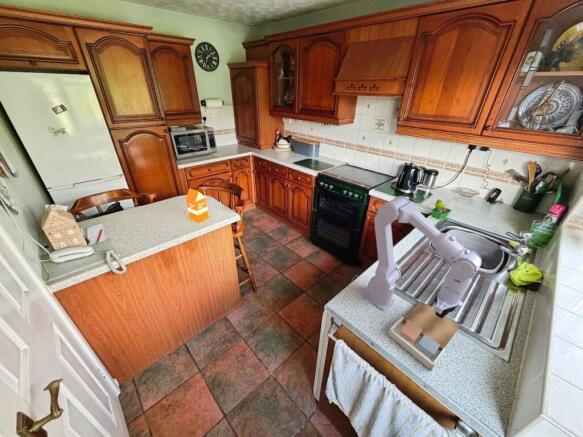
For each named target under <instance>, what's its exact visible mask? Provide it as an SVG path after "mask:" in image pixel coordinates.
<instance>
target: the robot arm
mask: <svg viewBox="0 0 583 437" xmlns="http://www.w3.org/2000/svg"><path fill="white" fill-rule="evenodd" d="M418 209H419V208H417V207H416V204H415V203H414V202H412V201H410V200H409V198H408V197H406V196H404V195H399V196H395V198H393V199H391V200H390V201H387V202H385V203H383V204H382V205H381V206H380V207H378V208H377V213H376V216H375V217H374V230H375V240H376V248H377V249H376V250H377V258H378V264H377V267H376V269H375V272H374V273H375V275H374V276H372V277H371V278H370V280H369V281H368V283H367V285H366V289H365V293H364V294H363V296H364V298H366V299H367V300H368V301H370V303H372V304H374V305H375V306H376V307H377V308H379V309H380V310H382V311H386V310H387V309H388V308H389V307H390V306H392V304H393V303H394V302H395V299H393V296H394V292H395V289H396V282H397V281H398V280H399V279H401V276H402V274H401V271H400V269H399V266H398V263H396V262H395V257H394V256H395V255H394V247H393V246H394V244H393V243H394V242H393V231H392V223H393V222H395V221H396V220H398V221H397V223H400V224H402V223H403V224H410V225H412V226H413V227H414V228H415V229H417V230H418V231H419V232H420V233H422V234H423V235H424V236H425V237H426V238H428V239H429V240H431V247H433V249H434V250H436V251H437V252H438V253H439V254H440V255H441V256H442V257H443V258H444V259H445V260H446V261H448V262H449V263H450V265H451V269H450V270H449V272H448V273H447V276H446V277H445V280H444V282H443V284H442V286H441V287H440V290H438V293H437V296H436V297H435V299H434V304H435V306H434V308H433V309H434V310H435V311H436V315H437V316H438V317H440V318H441V319H442V318H443V317H444V316H445V317H446V315H448V314H449V313H452V312H454V311H455V310H456V309H457V307H459V308H463V307H464V305H465V302H463V301H461V299H462V300H463V298H462V297H463V296H464V295H465V293H466V291H467V290H468V288H469V287H470V285H471V283H472V281H473V278H475V276H476V275H477V274H476V273H477V272H478V270H479V269H480V268H481V266H482V263H483V262H482V257H481V256H480V254H478V253H477V252H476V251H474V250H471V249H470V250H469V249H467V248H466V247H464V246H463V245H462V244H460V243H459V242H458V241H457V238H456V237H455V236H454V235H450V234H449V233H447V232H441V231H440V230H439V229H437V227H436V226H434V224H433V223H432V222H431V221H430V220H428V219H427V218H426V217H425V215H424V214H422V212H420V211H419V210H418ZM468 286H469V287H468Z"/></svg>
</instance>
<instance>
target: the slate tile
mask: <svg viewBox="0 0 583 437" xmlns="http://www.w3.org/2000/svg"><path fill="white" fill-rule="evenodd" d="M439 347H440V344H438V343H437V342H435V341H434V340H432V339H431V338H430V337H428V336H427V335H424V336H423V337H422V339H421V340H420V342H419V343H418V345H417V347H416V348H418V349H419V350H420V351H422V352H423V353H424V354H426V355H427V356H428V357H430V358H431V359H432V358H433V357H434V355H435V353H436V352H437V350H438V348H439Z"/></svg>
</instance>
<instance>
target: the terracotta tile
mask: <svg viewBox="0 0 583 437" xmlns="http://www.w3.org/2000/svg"><path fill="white" fill-rule="evenodd" d="M421 332H422V329H421V328H419V327H418V326H416V325H415V324H414V323H412V322H411V321H409V320H408V321H407V322H406V324H405V325H404V326H403V328H402V329H401V330H400V334H402V335H403V336H404V337H406V338H407V339H408V340H410V341H411V342H412V343H415V341H416V340H417V338H418V337H419V335H420V334H421Z"/></svg>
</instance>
